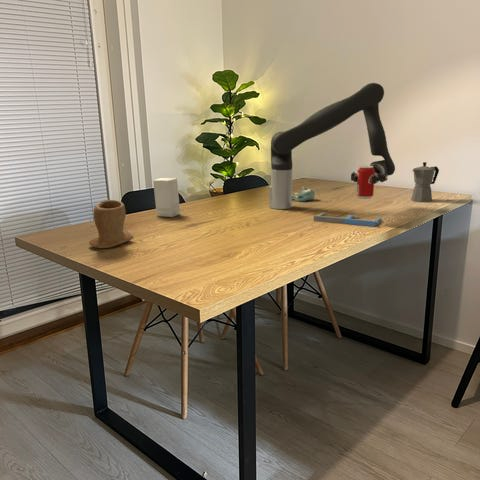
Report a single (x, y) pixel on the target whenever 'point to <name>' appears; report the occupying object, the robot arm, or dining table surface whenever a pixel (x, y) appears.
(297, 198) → the stuffed animal
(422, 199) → the coffeepot
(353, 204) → the dining table surface
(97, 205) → the brown hollow piece
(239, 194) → the dining table surface
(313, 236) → the dining table surface
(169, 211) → the skincare box
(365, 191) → the beverage can
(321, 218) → the e-shaped bracket
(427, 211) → the dining table surface
